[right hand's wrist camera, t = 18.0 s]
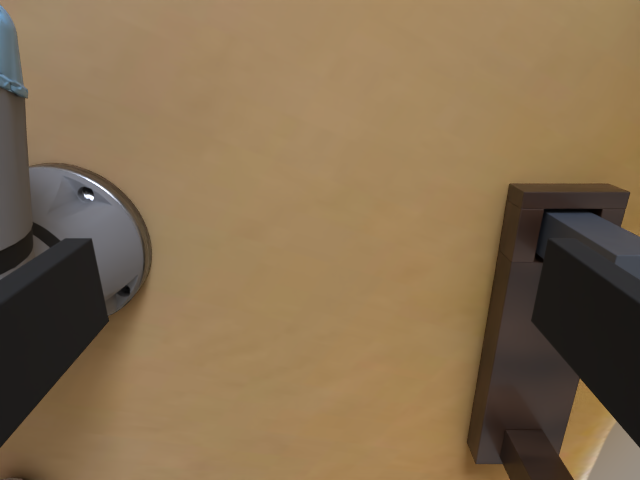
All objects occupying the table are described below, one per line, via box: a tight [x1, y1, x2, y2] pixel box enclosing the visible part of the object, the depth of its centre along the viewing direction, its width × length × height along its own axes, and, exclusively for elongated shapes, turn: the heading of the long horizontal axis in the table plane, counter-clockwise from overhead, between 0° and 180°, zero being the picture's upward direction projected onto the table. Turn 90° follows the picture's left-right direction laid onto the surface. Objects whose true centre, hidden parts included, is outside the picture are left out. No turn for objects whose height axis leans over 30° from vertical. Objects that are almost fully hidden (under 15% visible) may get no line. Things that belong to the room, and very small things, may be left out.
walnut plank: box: [467, 184, 630, 480], centre depth 40 cm, size 31×9×10 cm, turn 0°
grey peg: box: [536, 209, 640, 280], centre depth 35 cm, size 4×4×12 cm
